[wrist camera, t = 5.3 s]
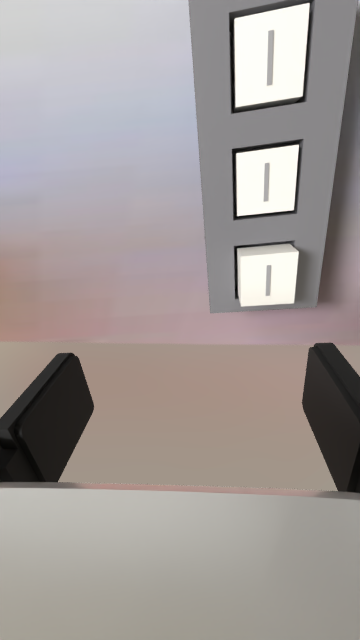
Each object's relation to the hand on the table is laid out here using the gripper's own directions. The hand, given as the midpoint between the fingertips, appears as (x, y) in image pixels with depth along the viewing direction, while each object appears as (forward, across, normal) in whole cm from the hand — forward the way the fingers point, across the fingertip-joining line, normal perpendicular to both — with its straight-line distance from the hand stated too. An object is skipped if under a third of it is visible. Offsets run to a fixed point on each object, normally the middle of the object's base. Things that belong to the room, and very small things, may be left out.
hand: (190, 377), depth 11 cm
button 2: (+15, -5, -13) cm, 21 cm away
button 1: (+13, -5, 0) cm, 14 cm away
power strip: (+17, -5, -7) cm, 19 cm away
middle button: (+15, -5, -7) cm, 17 cm away
